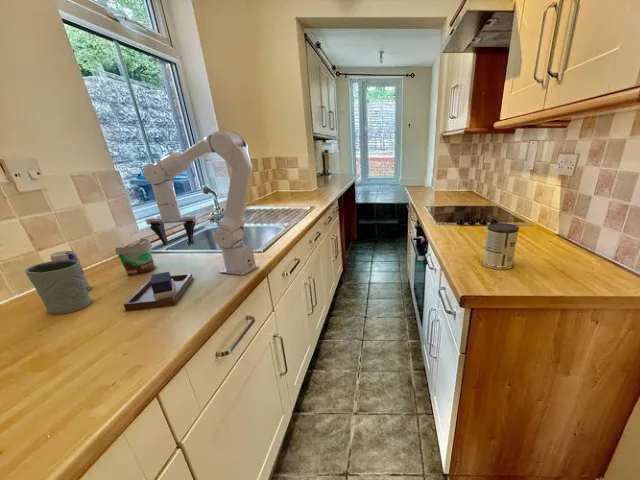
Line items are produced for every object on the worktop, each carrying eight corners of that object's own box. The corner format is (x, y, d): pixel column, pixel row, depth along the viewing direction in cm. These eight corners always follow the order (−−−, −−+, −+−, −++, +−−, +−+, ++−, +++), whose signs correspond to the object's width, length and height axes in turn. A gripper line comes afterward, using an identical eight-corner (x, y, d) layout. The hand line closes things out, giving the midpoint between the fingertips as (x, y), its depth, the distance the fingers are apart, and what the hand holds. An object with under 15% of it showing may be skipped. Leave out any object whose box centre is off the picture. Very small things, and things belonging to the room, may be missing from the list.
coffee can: (487, 258, 122) (492, 221, 116) (515, 263, 117) (521, 225, 111) (478, 266, 114) (483, 227, 108) (508, 271, 109) (515, 231, 103)
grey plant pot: (56, 302, 89) (37, 262, 84) (101, 296, 93) (85, 257, 88) (37, 318, 81) (14, 275, 76) (87, 311, 84) (68, 269, 79)
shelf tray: (193, 278, 104) (191, 273, 103) (174, 305, 87) (172, 298, 86) (153, 282, 101) (151, 277, 101) (125, 311, 84) (123, 304, 83)
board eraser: (174, 296, 91) (170, 280, 89) (154, 300, 88) (149, 284, 86) (174, 283, 99) (169, 268, 97) (155, 286, 97) (151, 271, 95)
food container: (142, 277, 106) (132, 248, 102) (124, 277, 106) (113, 248, 102) (166, 264, 117) (158, 238, 113) (150, 264, 117) (141, 238, 113)
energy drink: (94, 289, 97) (79, 251, 92) (74, 296, 93) (56, 257, 88) (83, 286, 99) (67, 249, 94) (62, 293, 94) (44, 255, 89)
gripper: (136, 206, 97) (150, 249, 103) (189, 204, 101) (199, 245, 107) (145, 202, 104) (158, 243, 109) (194, 200, 107) (204, 239, 113)
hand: (179, 243), depth 108 cm, fingers open, 7 cm apart
